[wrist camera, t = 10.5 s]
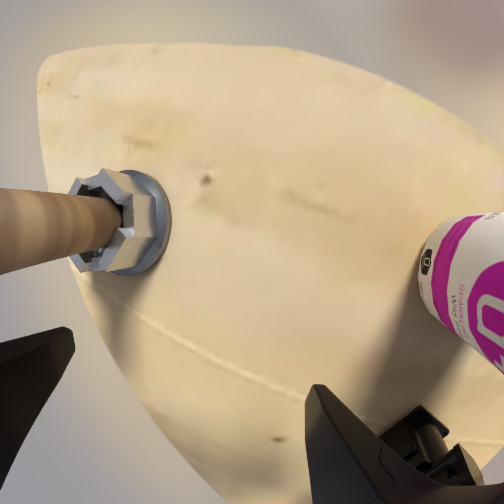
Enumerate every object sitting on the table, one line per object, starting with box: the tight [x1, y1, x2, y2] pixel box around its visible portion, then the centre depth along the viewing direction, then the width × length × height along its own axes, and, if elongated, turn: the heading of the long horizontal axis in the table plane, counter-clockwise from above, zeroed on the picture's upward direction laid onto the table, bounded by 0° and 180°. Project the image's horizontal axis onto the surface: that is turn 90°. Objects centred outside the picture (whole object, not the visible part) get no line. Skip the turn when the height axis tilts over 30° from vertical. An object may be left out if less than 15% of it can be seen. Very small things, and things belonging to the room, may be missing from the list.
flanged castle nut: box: [68, 168, 172, 275], centre depth 19 cm, size 9×9×5 cm
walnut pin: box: [0, 188, 124, 275], centre depth 14 cm, size 4×4×14 cm
